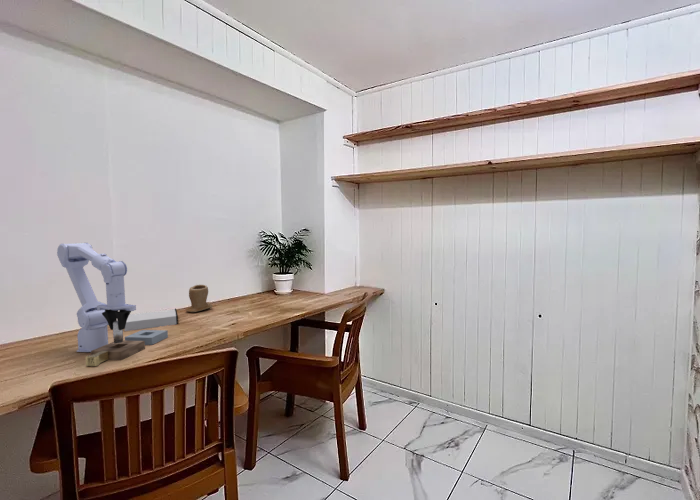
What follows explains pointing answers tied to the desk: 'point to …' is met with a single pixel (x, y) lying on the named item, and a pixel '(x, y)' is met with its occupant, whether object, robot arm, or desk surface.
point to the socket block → (121, 349)
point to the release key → (96, 358)
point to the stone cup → (198, 298)
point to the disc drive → (151, 319)
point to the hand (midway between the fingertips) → (117, 329)
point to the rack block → (148, 336)
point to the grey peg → (117, 333)
